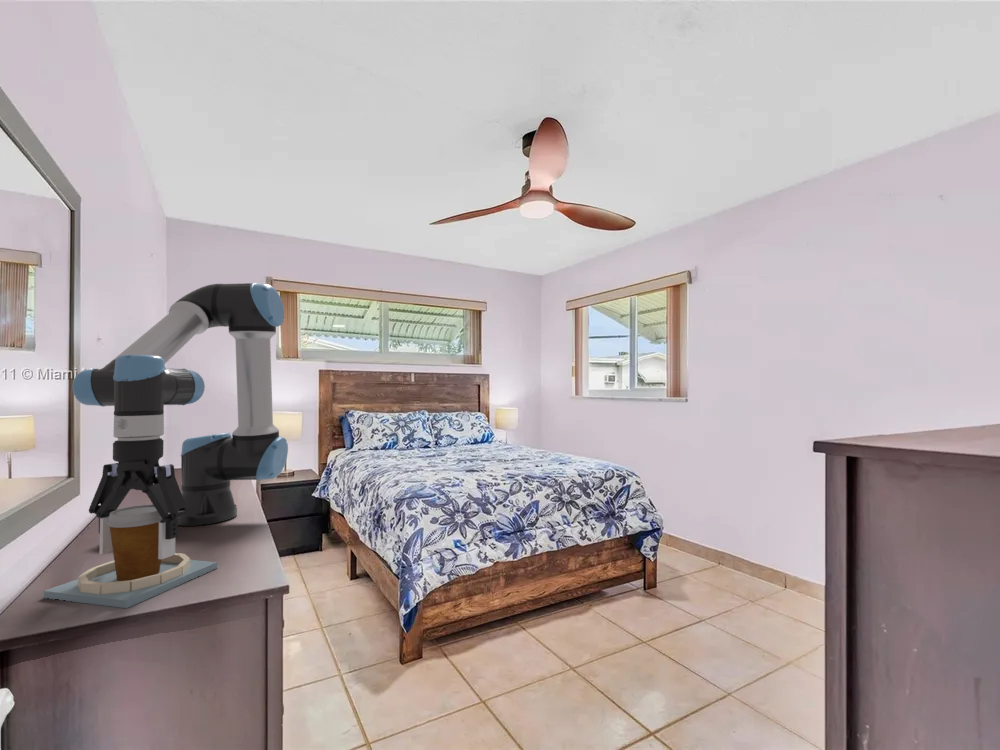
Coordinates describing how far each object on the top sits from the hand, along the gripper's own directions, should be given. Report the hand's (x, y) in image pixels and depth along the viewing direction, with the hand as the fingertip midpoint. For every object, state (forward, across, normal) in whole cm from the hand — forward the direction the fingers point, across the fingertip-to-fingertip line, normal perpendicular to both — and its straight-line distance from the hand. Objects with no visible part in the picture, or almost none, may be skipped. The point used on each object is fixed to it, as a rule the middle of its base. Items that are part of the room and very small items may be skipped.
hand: (137, 554), depth 89 cm
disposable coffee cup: (+4, 0, 0) cm, 4 cm away
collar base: (+5, 0, 0) cm, 5 cm away
